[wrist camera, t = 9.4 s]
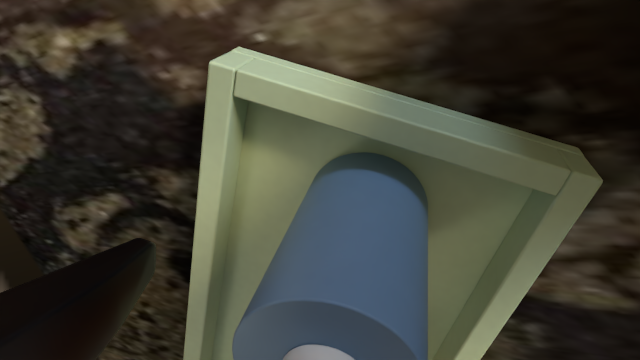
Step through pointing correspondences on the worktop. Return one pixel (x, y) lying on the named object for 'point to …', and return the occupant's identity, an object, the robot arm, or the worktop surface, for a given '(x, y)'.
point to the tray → (389, 140)
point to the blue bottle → (346, 271)
